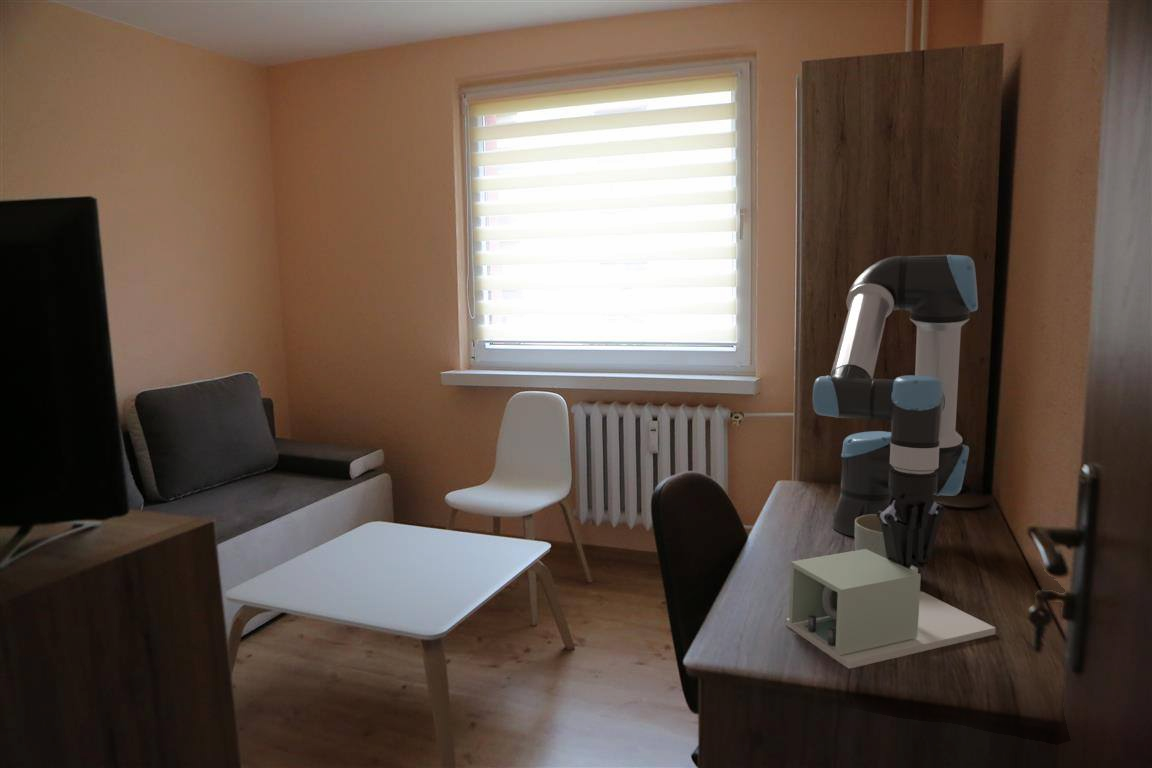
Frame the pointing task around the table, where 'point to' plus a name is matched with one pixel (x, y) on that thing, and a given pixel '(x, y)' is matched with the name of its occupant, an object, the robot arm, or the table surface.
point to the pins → (830, 631)
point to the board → (934, 631)
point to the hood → (858, 598)
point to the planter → (869, 534)
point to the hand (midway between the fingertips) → (907, 601)
